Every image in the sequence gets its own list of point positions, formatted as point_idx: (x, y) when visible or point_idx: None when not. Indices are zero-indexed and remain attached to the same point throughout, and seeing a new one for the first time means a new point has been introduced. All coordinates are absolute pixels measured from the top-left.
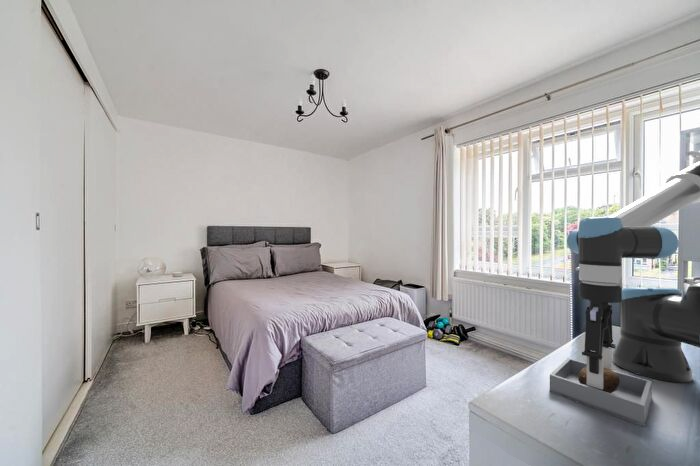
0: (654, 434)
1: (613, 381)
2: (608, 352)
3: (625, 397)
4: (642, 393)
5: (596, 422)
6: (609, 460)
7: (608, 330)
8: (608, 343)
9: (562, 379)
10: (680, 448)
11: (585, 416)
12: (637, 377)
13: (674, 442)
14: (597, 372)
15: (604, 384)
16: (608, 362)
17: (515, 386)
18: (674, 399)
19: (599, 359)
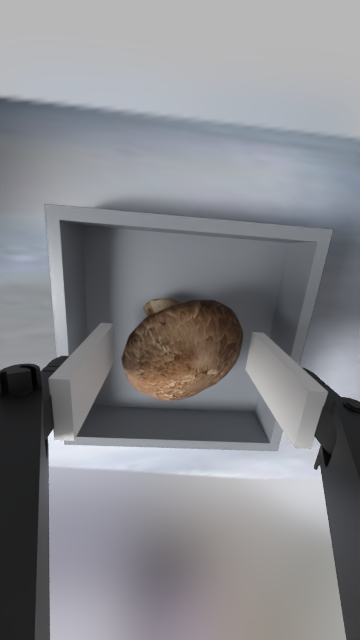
0: (321, 214)
1: (228, 316)
2: (79, 376)
3: (155, 276)
4: (82, 236)
5: (348, 319)
6: None
7: (37, 543)
8: (42, 412)
9: None
10: (355, 165)
11: (334, 340)
12: (51, 249)
13: (332, 175)
14: (313, 373)
15: (240, 334)
16: (98, 351)
17: (286, 466)
18: (6, 152)
19: (322, 401)
